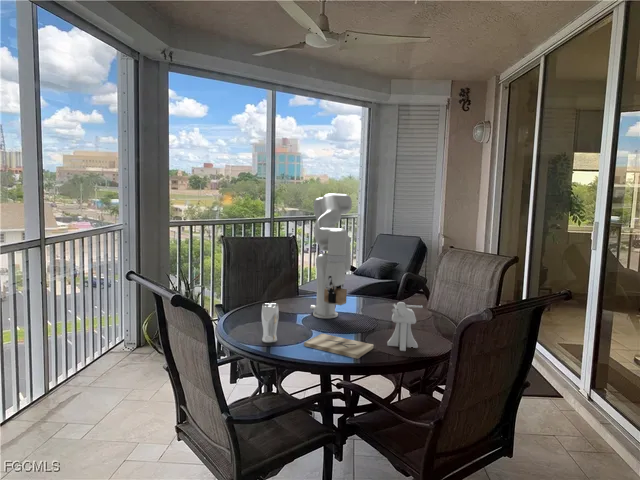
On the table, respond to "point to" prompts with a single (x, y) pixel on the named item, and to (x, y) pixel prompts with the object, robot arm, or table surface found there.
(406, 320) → the toy gun turret
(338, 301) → the block
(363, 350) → the board
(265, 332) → the beer glass
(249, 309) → the table surface
